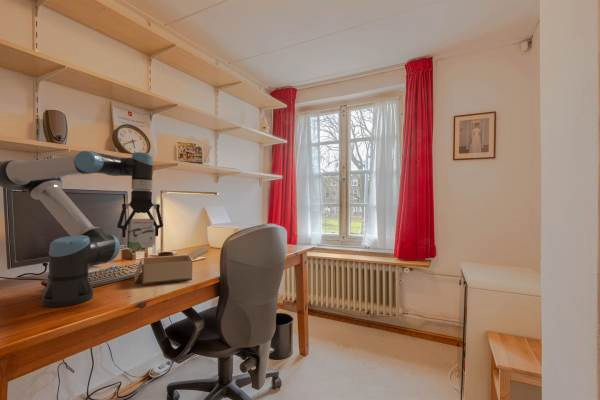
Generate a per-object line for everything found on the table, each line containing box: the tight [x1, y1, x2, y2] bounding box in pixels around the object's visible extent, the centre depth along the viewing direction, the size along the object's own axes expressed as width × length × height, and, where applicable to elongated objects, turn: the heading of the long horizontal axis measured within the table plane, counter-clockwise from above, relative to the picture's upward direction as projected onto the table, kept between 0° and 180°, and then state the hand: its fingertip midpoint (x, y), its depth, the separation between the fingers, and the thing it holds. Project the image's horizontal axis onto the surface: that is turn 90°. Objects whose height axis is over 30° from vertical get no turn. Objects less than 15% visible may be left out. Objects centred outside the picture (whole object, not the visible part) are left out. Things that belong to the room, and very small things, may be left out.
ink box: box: [126, 218, 155, 250], centre depth 120 cm, size 9×5×12 cm, turn 133°
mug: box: [157, 251, 175, 257], centre depth 155 cm, size 12×8×9 cm, turn 56°
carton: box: [134, 254, 193, 286], centre depth 141 cm, size 24×21×9 cm
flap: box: [188, 245, 209, 261], centre depth 148 cm, size 1×14×8 cm
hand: (140, 244), depth 120 cm, fingers closed on ink box, 9 cm apart
